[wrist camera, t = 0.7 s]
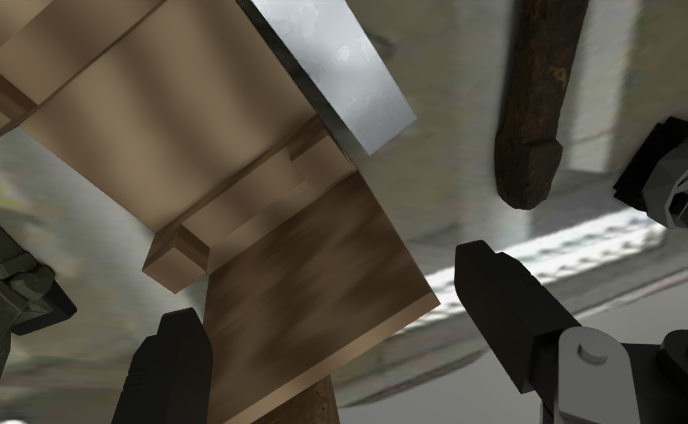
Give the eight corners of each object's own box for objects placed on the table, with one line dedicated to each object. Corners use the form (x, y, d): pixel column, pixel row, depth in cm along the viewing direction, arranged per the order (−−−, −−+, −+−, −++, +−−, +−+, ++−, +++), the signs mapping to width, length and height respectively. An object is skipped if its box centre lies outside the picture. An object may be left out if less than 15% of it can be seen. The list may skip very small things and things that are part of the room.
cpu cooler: (645, 224, 36) (723, 124, 31) (599, 197, 41) (660, 107, 36) (710, 238, 39) (788, 150, 35) (660, 211, 44) (723, 130, 40)
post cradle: (136, -138, 20) (-94, -403, 6) (361, 174, 32) (441, 304, 19) (-65, 47, 22) (-558, 137, 8) (220, 273, 34) (202, 453, 21)
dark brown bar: (519, -96, 25) (580, -116, 20) (581, -95, 26) (653, -114, 21) (467, 198, 37) (498, 228, 32) (510, 192, 38) (547, 221, 33)
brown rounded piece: (226, 279, 35) (205, 545, 18) (303, 259, 36) (352, 496, 19) (256, 351, 41) (262, 603, 24) (322, 333, 42) (373, 564, 25)
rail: (234, -142, 21) (230, -185, 16) (389, 97, 30) (417, 118, 25) (183, -92, 21) (163, -117, 16) (349, 128, 30) (369, 155, 25)
